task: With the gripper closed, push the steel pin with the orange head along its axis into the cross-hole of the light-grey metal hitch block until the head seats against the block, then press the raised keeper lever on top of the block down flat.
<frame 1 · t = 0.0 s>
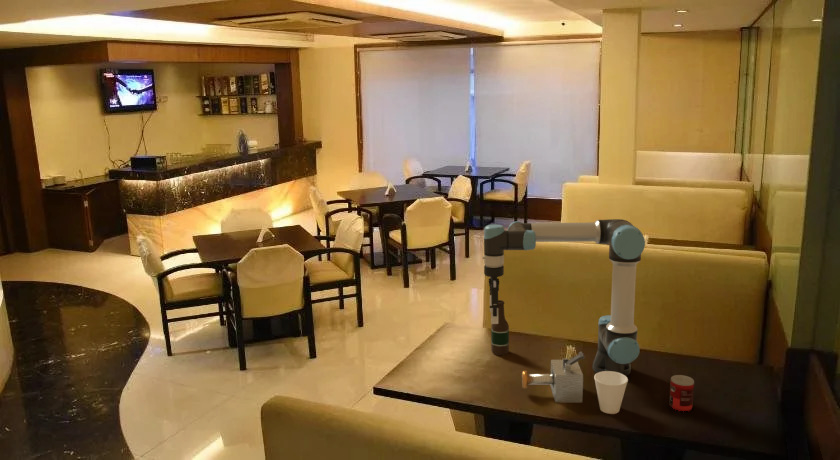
hand: (493, 317, 259), 28 cm above the table, fingers open, 13 cm apart
cup: (609, 409, 243), on the table
beer bottle: (500, 352, 296), on the table
pin: (545, 379, 255), point 6 cm above the table, slide at 0.0 cm
hitch block: (565, 393, 255), on the table
canned food: (680, 407, 243), on the table
keeper: (574, 360, 252), point 14 cm above the table, hinge at 35.0°
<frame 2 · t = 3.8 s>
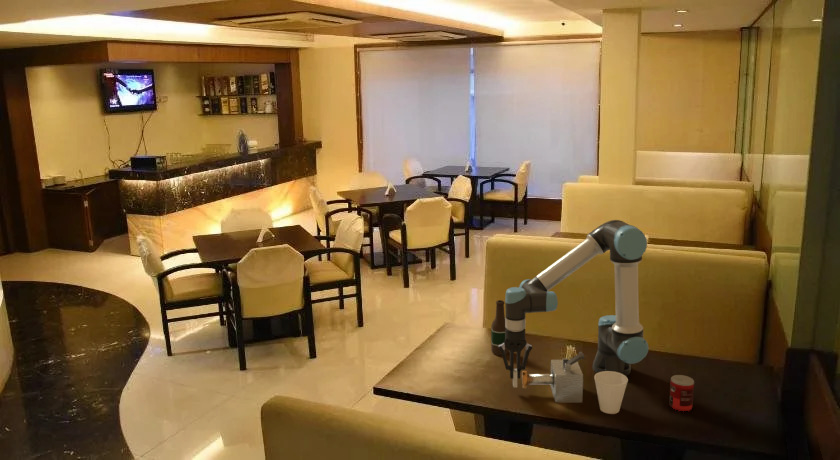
hand: (515, 385, 256), 3 cm above the table, fingers closed
pin: (545, 379, 255), point 6 cm above the table, slide at 0.0 cm, touching gripper
everything else where it was.
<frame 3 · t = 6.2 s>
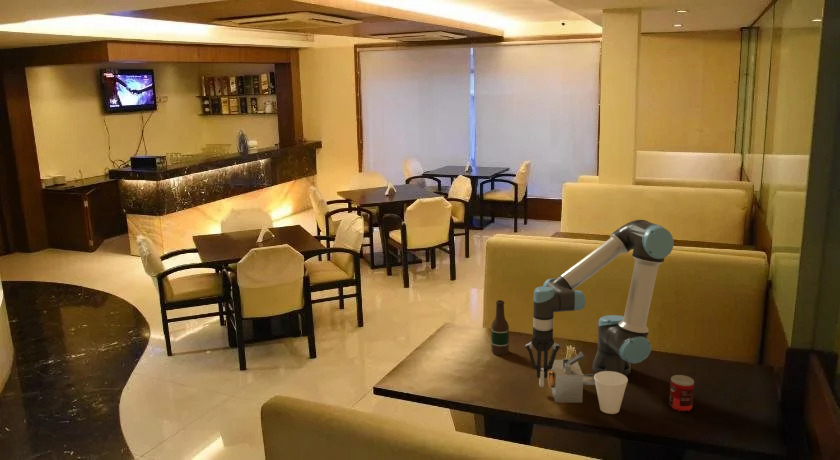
hand: (541, 385, 255), 4 cm above the table, fingers closed
pin: (572, 379, 254), point 6 cm above the table, slide at 10.0 cm, touching gripper, hitch block
everything else where it was.
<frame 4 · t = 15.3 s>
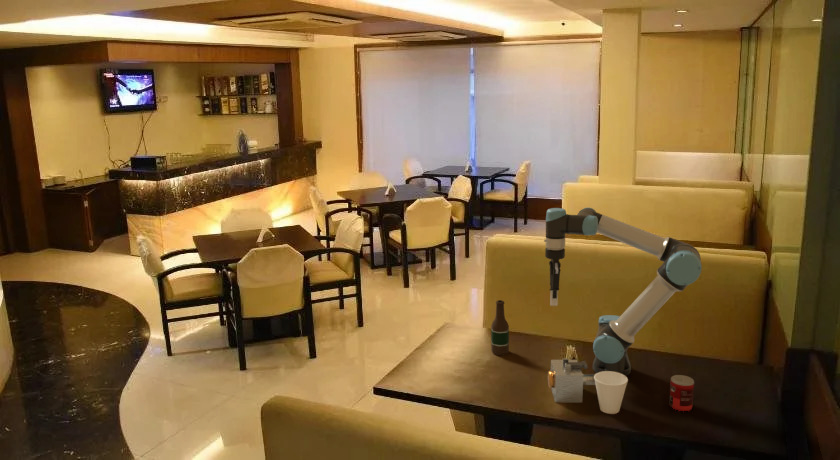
hand: (553, 305, 265), 30 cm above the table, fingers closed
pin: (572, 379, 254), point 6 cm above the table, slide at 10.0 cm, touching hitch block
keeper: (575, 364, 253), point 12 cm above the table, hinge at 0.5°
everything else where it was.
at the end: pin slide at 10.0 cm; keeper at +0° (first picture: +35°) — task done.
